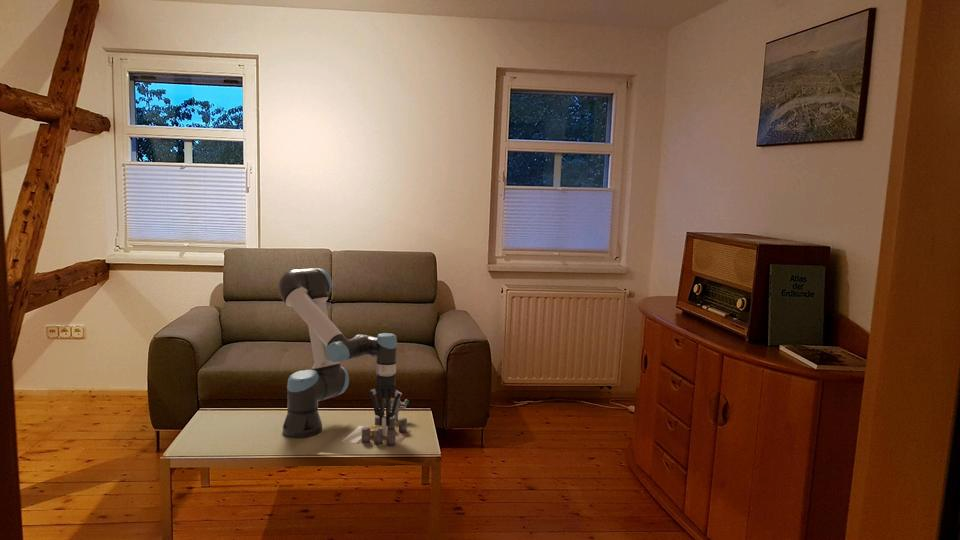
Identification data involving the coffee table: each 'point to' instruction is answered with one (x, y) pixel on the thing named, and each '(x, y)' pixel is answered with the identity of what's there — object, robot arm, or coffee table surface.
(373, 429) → the star-shaped block
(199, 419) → the coffee table surface
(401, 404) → the mechanical component
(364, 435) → the board
